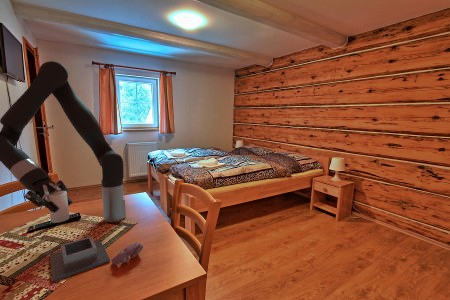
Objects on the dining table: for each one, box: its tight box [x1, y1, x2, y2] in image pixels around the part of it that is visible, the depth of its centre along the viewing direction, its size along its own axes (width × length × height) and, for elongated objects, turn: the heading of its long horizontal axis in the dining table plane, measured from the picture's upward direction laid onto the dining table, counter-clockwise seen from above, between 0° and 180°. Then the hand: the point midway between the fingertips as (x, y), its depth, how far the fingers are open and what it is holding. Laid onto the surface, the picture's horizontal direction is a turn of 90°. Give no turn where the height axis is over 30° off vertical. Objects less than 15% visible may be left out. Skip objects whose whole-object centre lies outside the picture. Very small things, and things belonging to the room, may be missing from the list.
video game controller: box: [111, 242, 144, 266], centre depth 80 cm, size 10×5×7 cm, turn 149°
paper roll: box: [49, 190, 70, 224], centre depth 82 cm, size 6×6×10 cm
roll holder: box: [49, 236, 111, 283], centre depth 79 cm, size 16×16×5 cm
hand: (63, 207), depth 82 cm, fingers closed on paper roll, 5 cm apart
